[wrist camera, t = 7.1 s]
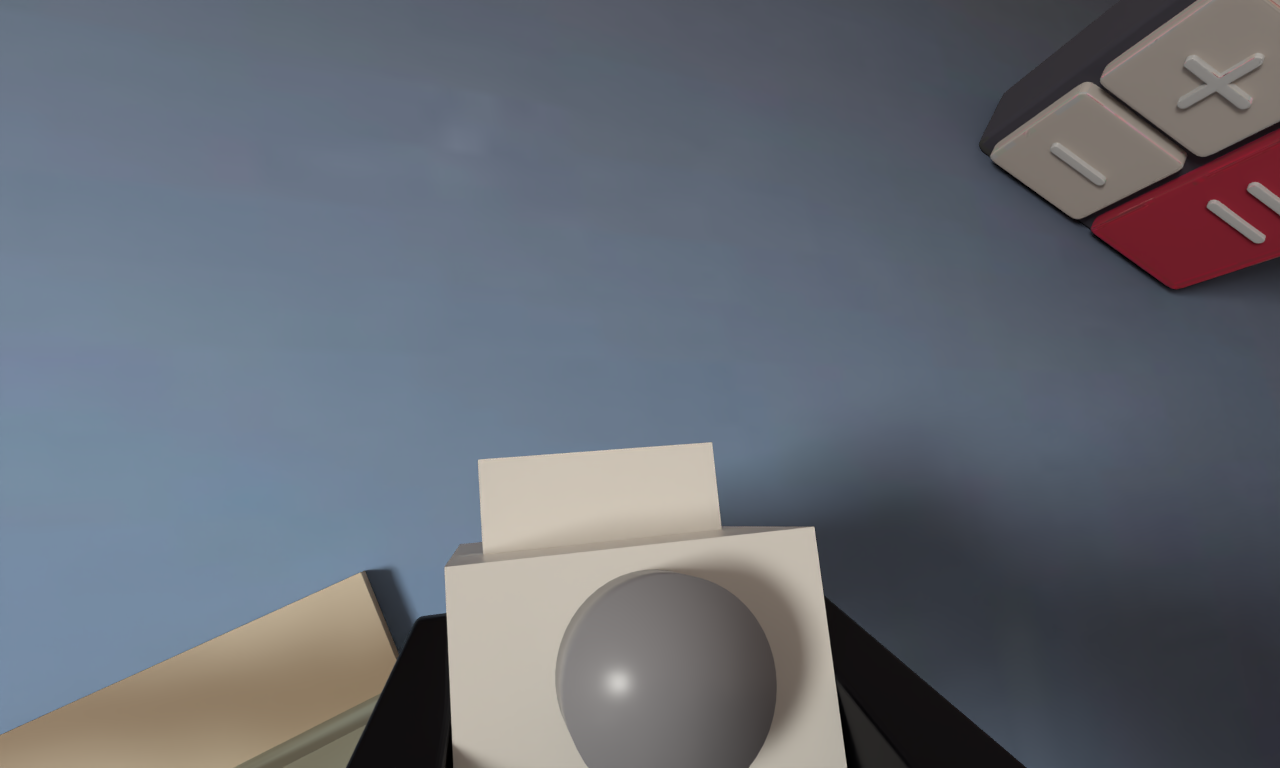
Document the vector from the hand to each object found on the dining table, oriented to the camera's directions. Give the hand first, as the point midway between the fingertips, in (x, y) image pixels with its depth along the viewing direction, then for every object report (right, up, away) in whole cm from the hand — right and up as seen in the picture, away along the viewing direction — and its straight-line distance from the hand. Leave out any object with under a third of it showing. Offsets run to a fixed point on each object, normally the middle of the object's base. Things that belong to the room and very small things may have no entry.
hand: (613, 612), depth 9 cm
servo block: (-1, -3, +6) cm, 7 cm away
